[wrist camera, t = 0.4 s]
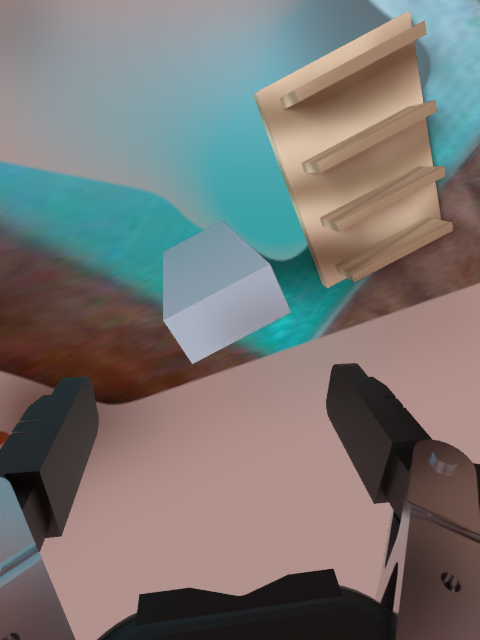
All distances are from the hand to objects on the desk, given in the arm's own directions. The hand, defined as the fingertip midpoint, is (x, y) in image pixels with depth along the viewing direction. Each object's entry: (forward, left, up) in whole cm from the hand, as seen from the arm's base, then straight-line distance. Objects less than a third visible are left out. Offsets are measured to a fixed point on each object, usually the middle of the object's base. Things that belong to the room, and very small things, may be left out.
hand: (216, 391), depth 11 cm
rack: (-12, +13, -21) cm, 28 cm away
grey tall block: (0, +2, -21) cm, 21 cm away
